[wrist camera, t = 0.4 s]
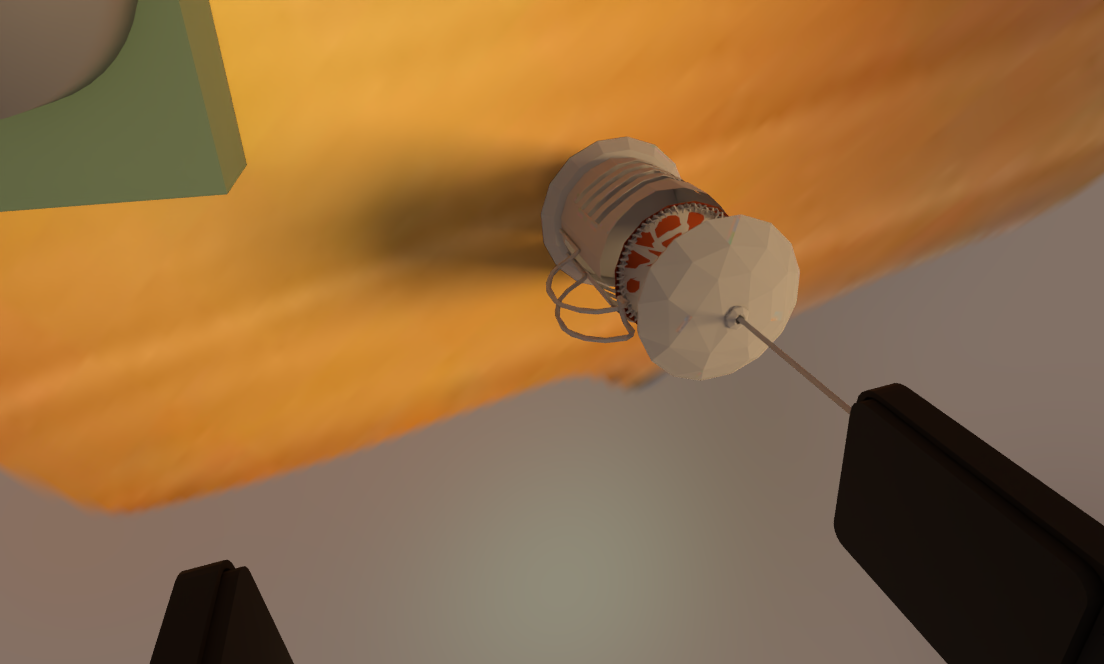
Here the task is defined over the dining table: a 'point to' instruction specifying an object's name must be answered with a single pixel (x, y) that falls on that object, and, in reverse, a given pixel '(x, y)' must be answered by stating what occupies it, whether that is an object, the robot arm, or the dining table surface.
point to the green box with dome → (113, 103)
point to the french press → (669, 261)
